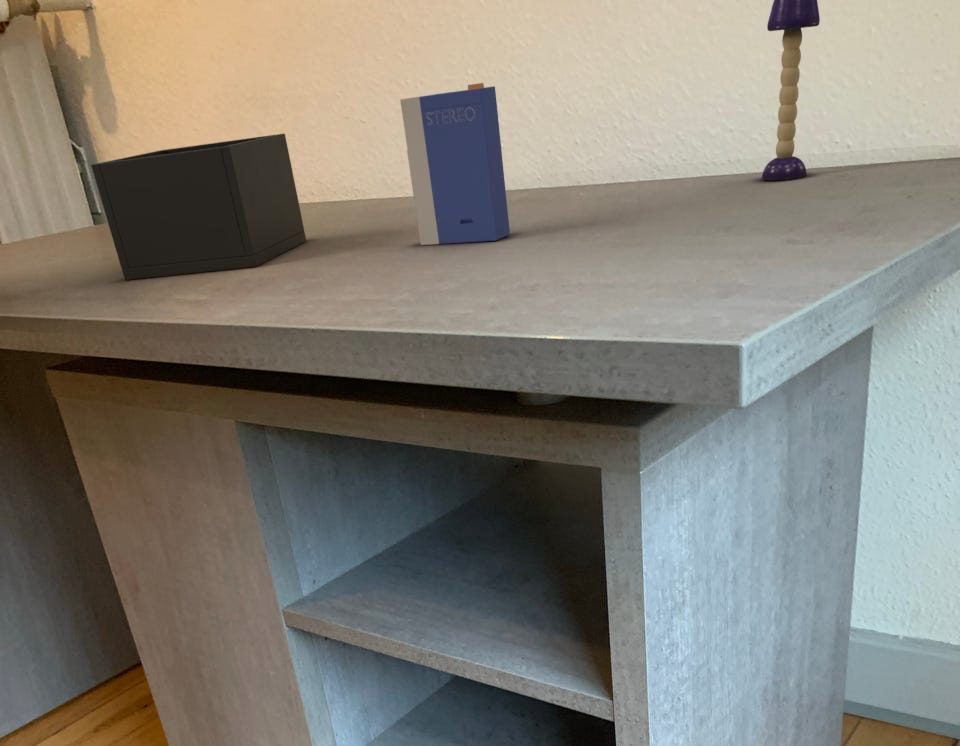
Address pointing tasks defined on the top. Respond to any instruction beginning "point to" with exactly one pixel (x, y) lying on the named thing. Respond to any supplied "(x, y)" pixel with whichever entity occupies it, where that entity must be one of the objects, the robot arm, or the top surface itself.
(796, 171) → the toy lamp
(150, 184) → the black storage bin
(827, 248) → the top surface
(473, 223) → the walkman
